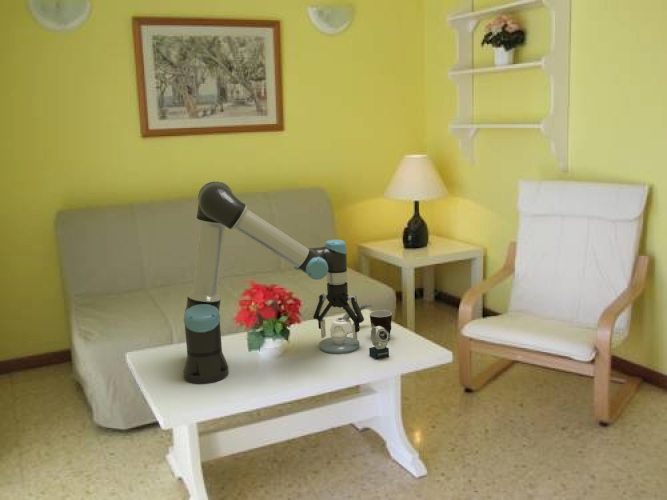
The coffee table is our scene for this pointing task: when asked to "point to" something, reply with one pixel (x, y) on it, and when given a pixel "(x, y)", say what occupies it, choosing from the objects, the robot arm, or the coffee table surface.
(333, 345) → the plate
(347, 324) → the inkwell
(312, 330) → the coffee table surface
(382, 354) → the watch
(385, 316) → the coffee mug
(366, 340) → the coffee table surface
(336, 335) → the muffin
